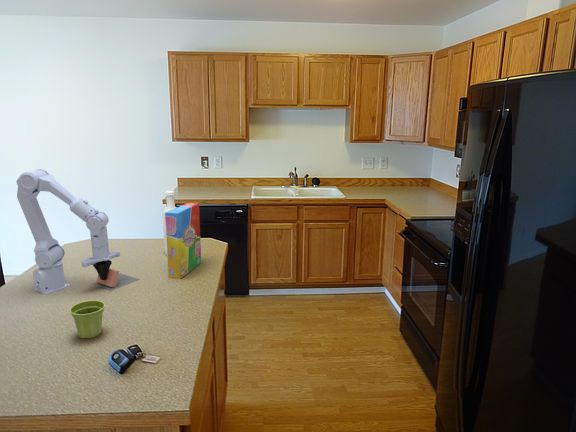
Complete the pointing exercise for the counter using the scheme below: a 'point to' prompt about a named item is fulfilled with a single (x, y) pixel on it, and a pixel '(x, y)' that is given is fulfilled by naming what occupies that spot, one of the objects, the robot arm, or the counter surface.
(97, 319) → the plant pot
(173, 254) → the game box
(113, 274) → the block
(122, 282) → the mat
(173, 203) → the bottle
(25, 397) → the counter surface
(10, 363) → the counter surface
